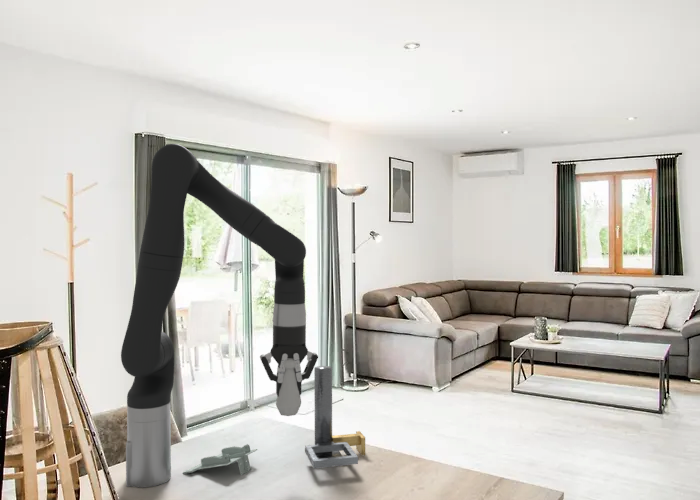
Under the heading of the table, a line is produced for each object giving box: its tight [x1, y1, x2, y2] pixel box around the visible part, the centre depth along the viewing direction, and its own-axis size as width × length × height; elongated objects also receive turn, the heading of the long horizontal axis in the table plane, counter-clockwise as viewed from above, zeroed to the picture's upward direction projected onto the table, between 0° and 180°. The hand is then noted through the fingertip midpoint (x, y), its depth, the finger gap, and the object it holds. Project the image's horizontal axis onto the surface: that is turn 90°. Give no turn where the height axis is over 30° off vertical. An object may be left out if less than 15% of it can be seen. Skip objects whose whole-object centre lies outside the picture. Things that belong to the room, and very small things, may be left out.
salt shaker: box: [275, 358, 302, 417], centre depth 133 cm, size 6×6×13 cm
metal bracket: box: [182, 443, 258, 476], centre depth 137 cm, size 14×6×15 cm
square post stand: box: [304, 365, 366, 469], centre depth 141 cm, size 15×18×22 cm
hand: (288, 397), depth 133 cm, fingers closed on salt shaker, 3 cm apart
